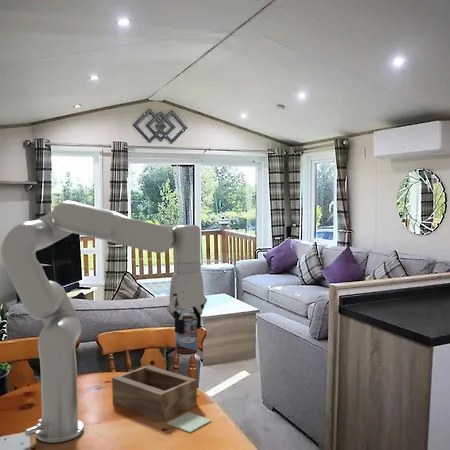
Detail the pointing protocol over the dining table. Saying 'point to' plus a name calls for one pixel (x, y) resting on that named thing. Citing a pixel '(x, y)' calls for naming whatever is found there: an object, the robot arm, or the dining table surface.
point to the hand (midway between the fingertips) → (188, 329)
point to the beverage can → (187, 336)
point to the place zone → (189, 422)
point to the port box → (154, 392)
